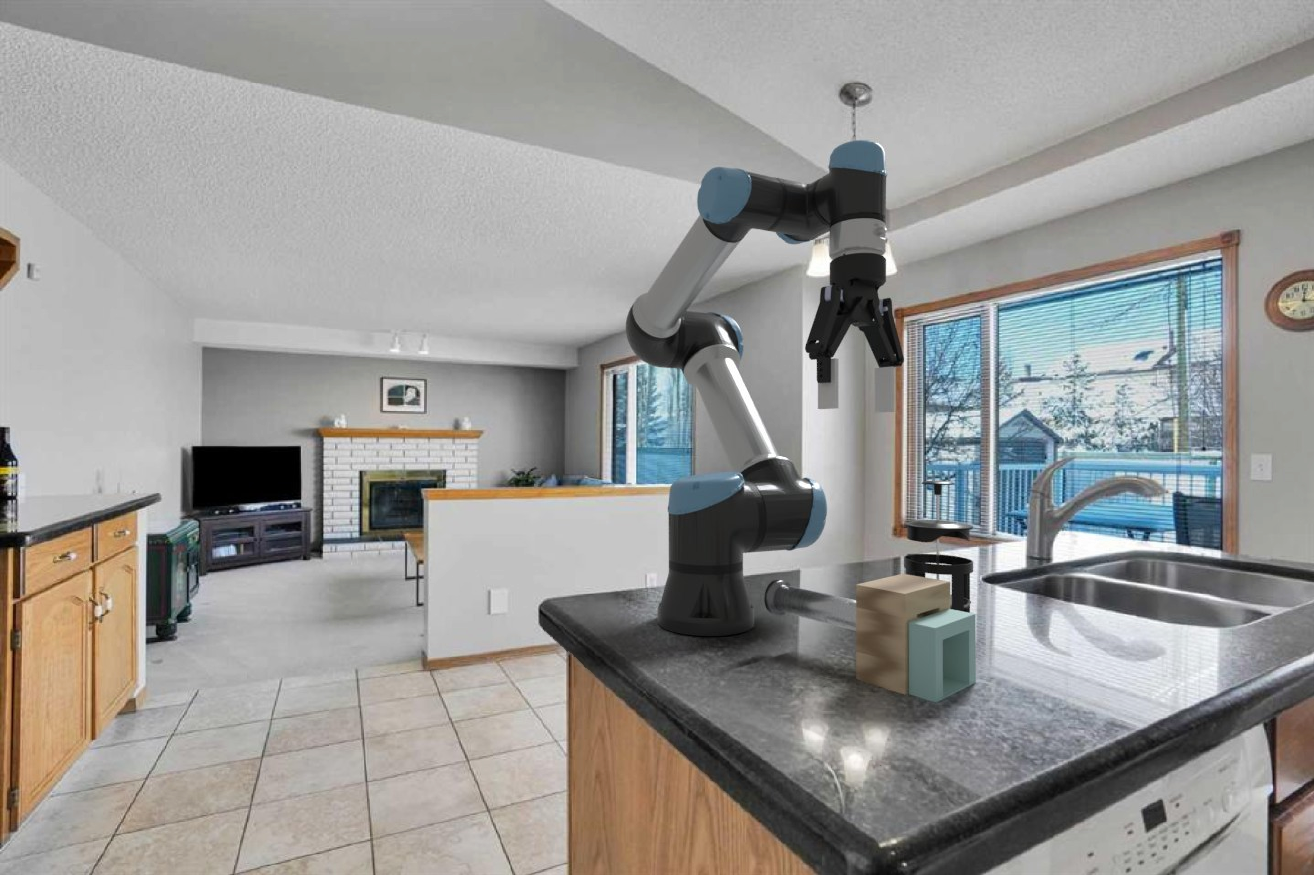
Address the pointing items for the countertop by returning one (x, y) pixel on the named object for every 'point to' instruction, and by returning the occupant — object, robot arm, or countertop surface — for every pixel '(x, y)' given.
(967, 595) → the french press
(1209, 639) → the countertop surface
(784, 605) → the shaft
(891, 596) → the housing
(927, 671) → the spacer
